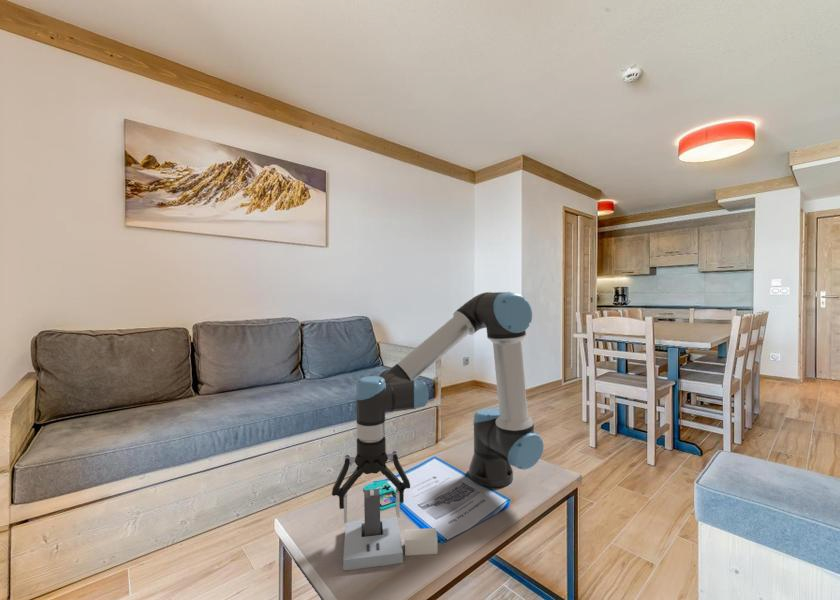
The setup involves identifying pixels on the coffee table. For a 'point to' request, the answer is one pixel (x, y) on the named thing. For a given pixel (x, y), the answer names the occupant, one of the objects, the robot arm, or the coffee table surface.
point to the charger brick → (372, 512)
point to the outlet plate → (372, 545)
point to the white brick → (421, 541)
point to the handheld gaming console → (383, 492)
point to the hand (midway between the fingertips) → (372, 516)
